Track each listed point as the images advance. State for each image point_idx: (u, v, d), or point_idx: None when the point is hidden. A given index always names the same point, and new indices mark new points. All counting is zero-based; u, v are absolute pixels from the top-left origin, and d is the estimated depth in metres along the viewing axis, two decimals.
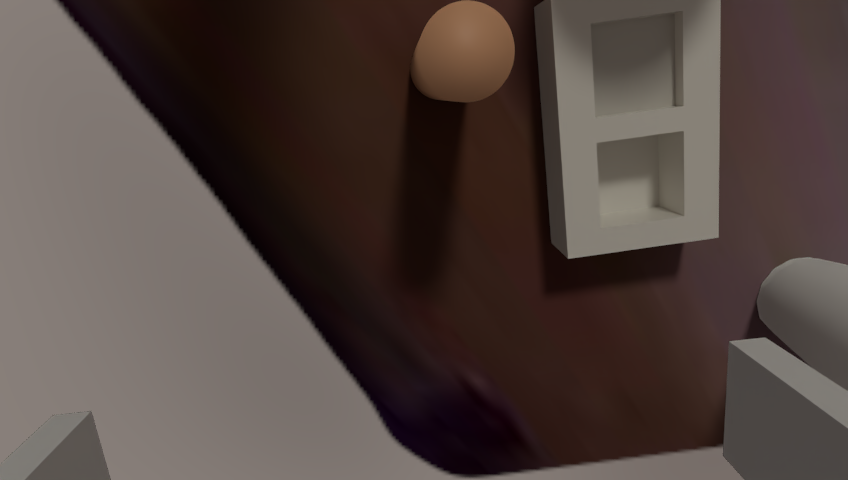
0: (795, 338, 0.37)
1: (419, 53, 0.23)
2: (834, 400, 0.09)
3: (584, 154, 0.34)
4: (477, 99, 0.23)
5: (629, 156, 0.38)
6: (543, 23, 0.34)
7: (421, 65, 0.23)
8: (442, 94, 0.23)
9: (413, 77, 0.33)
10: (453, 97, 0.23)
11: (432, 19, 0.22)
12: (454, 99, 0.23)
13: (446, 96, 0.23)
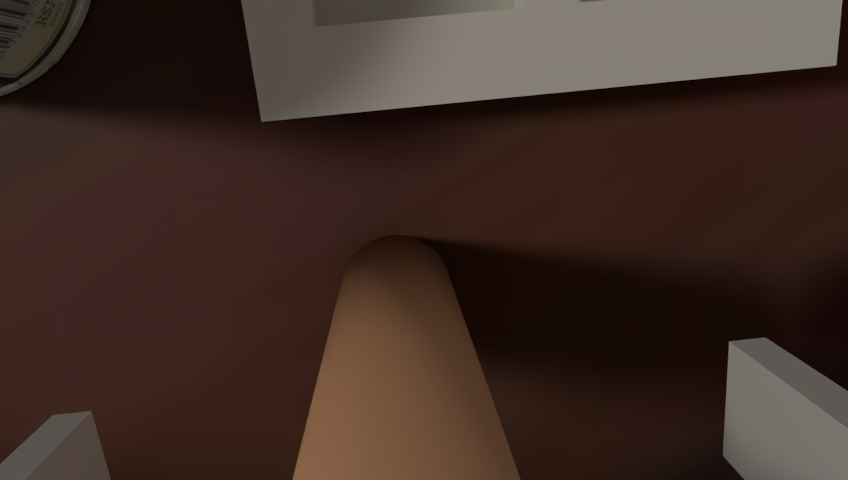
0: None
1: None
2: (834, 400, 0.09)
3: (602, 32, 0.15)
4: None
5: None
6: None
7: None
8: None
9: None
10: None
11: None
12: None
13: None
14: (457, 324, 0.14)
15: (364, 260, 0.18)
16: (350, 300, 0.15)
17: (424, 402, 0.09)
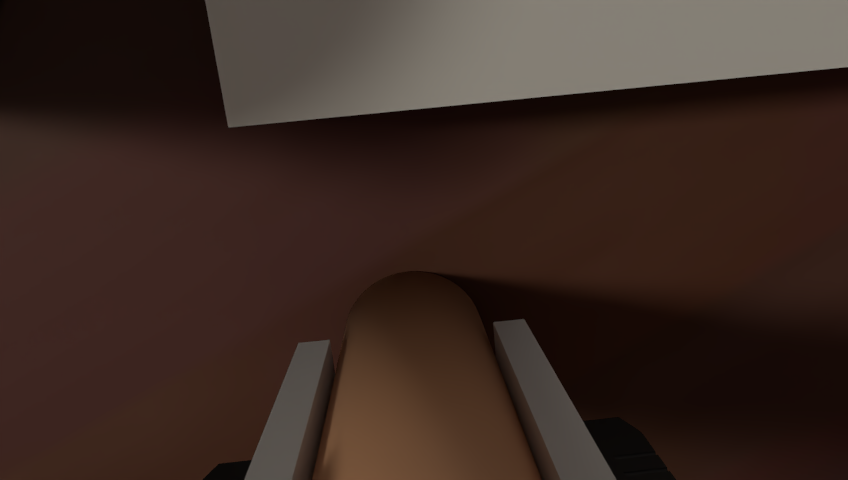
0: None
1: None
2: (531, 366, 0.11)
3: None
4: None
5: None
6: None
7: None
8: None
9: None
10: None
11: None
12: None
13: None
14: (512, 431, 0.09)
15: (373, 310, 0.13)
16: (353, 382, 0.10)
17: None
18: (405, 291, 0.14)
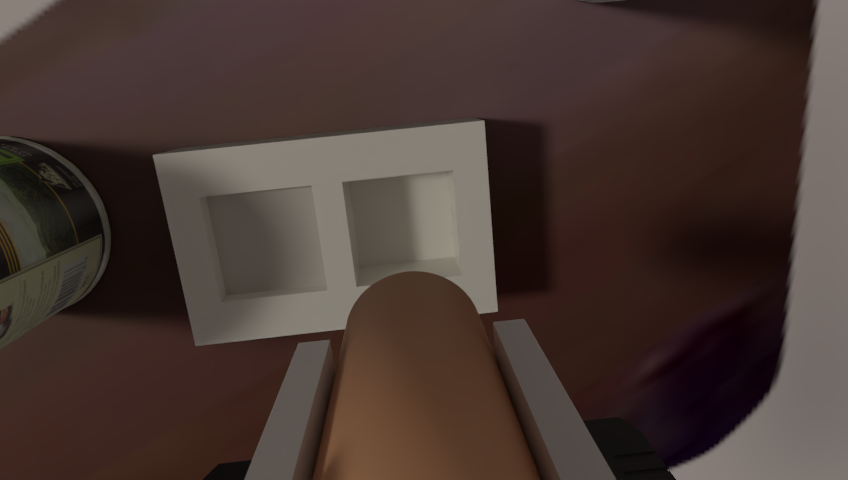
0: None
1: None
2: (531, 366, 0.11)
3: None
4: None
5: (382, 205, 0.31)
6: None
7: None
8: None
9: None
10: None
11: None
12: None
13: None
14: (510, 428, 0.09)
15: (374, 310, 0.13)
16: (354, 380, 0.10)
17: None
18: (405, 290, 0.14)
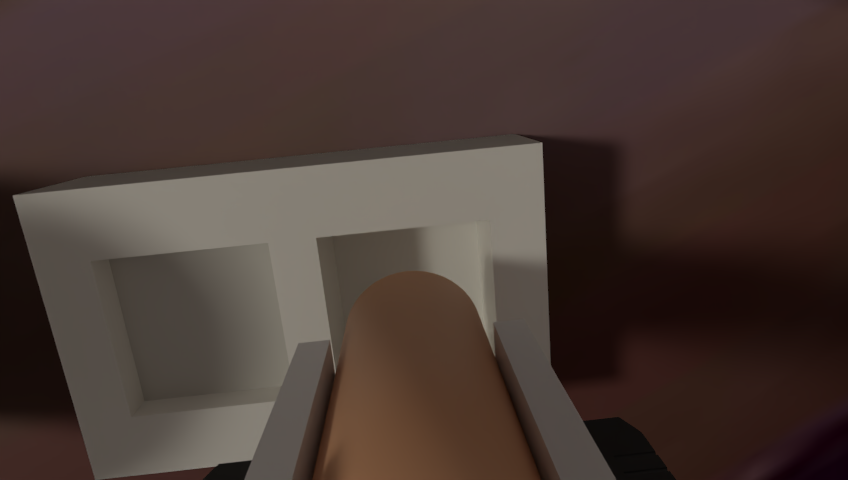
0: None
1: None
2: (531, 366, 0.11)
3: None
4: None
5: (380, 261, 0.21)
6: None
7: None
8: None
9: None
10: None
11: None
12: None
13: None
14: (510, 427, 0.09)
15: (374, 309, 0.13)
16: (354, 380, 0.10)
17: None
18: (405, 290, 0.14)
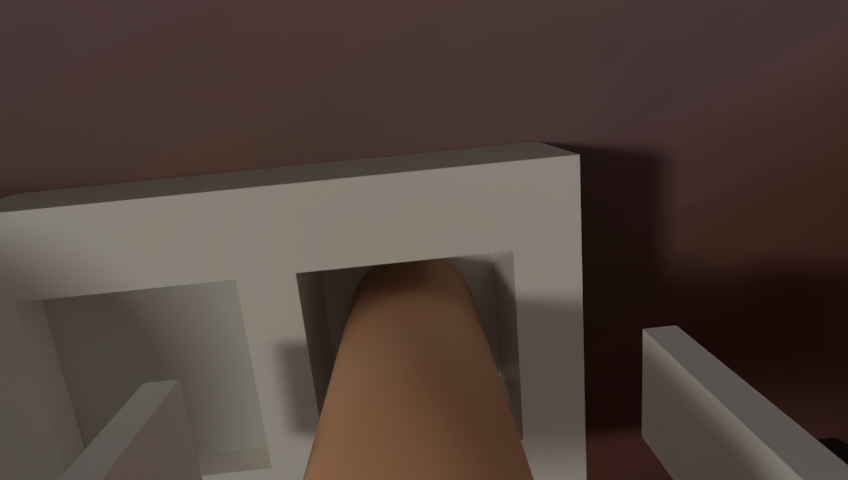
0: None
1: None
2: (719, 379, 0.10)
3: None
4: None
5: None
6: None
7: None
8: None
9: None
10: None
11: None
12: None
13: None
14: (487, 373, 0.11)
15: (375, 284, 0.15)
16: (357, 337, 0.12)
17: None
18: (403, 268, 0.16)
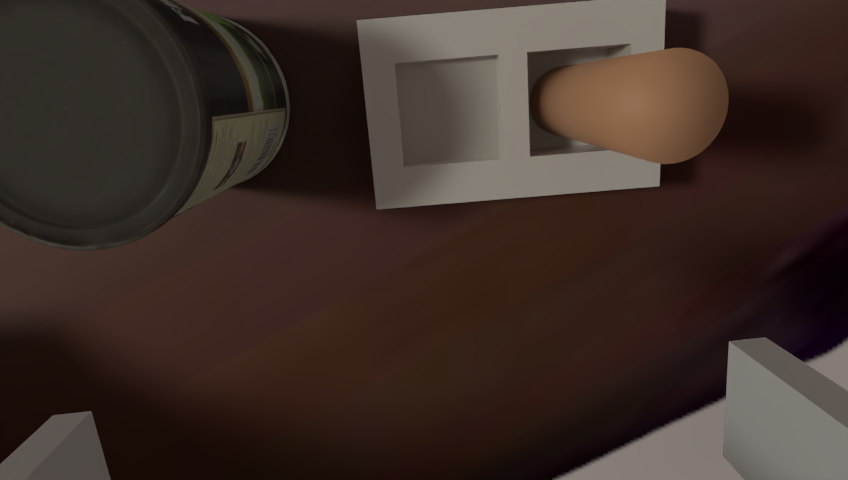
0: None
1: (664, 162, 0.20)
2: (834, 400, 0.09)
3: (541, 170, 0.30)
4: (727, 95, 0.19)
5: None
6: None
7: (677, 161, 0.20)
8: (713, 138, 0.20)
9: None
10: (719, 124, 0.20)
11: (631, 146, 0.20)
12: (721, 123, 0.20)
13: (716, 133, 0.20)
14: None
15: (557, 69, 0.30)
16: (568, 71, 0.27)
17: None
18: None
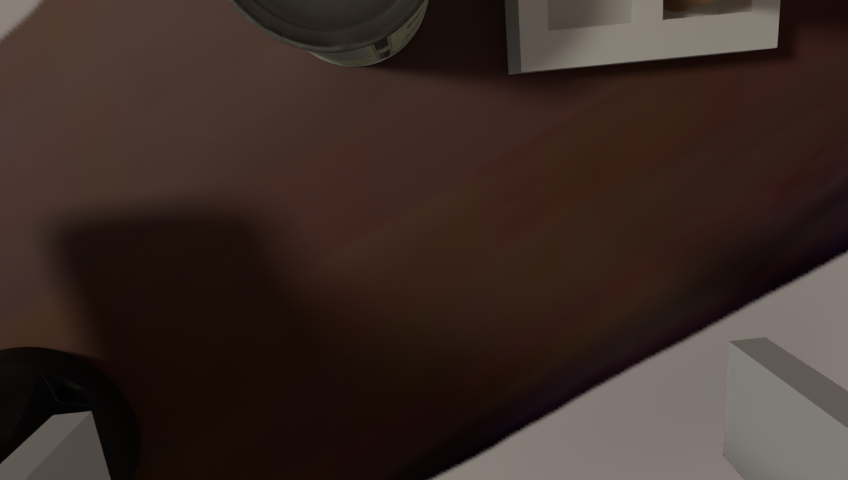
0: None
1: None
2: (834, 400, 0.09)
3: (672, 32, 0.33)
4: None
5: None
6: None
7: None
8: None
9: (713, 1, 0.33)
10: None
11: None
12: None
13: None
14: None
15: None
16: None
17: None
18: None
